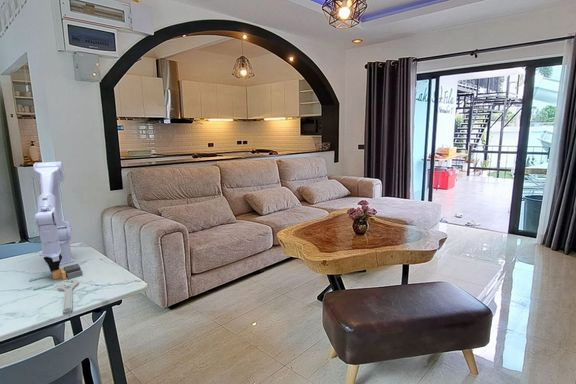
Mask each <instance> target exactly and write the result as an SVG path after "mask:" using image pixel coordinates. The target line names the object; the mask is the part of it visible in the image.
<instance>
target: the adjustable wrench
mask: <svg viewBox="0 0 576 384" xmlns="http://www.w3.org/2000/svg"><path fill="white" fill-rule="evenodd" d="M70 282H71V283H69V284H65V283H64V282H61V283H60V284H59V285H58V287H57V291H58V292H63V293H64V296H63V303H62V304H63V305H62V314H63V315H69V314H72V313H73V310H74V307H73V306H74V305H73V304H74V303H73V302H74V301H73V300H74V299H73V291H74V290H75V289H76V288H77V287H78V286H79V285H80V281H79V280H78V279H70Z"/></svg>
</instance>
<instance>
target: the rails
mask: <svg viewBox="0 0 576 384" xmlns="http://www.w3.org/2000/svg"><path fill="white" fill-rule="evenodd" d="M46 278H49V275H48V274H47V275H46V274H45V275H43V276H38V277H35V278H32V279H31V278H30V279H29V280H28V281H29V283H31V282H35V281H38V280H42V279H46ZM53 286H54V282H53V283H49V284H46V285H42V286H38V287H34V288H33V289H32V290H33V291H35V292H36V291H38V290H42V289H45V288H48V287H53Z"/></svg>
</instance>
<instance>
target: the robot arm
mask: <svg viewBox="0 0 576 384" xmlns="http://www.w3.org/2000/svg"><path fill="white" fill-rule="evenodd" d="M32 169H33V174H34V176H35V178H36V179H37V181H38V182H39V183H40V191H41V194H40V195H38V196H37V212H35V214H34V223H35V225H36V229H37V232H39V239H40V245H41V251H42V252H40V253H38V256H39V257H42V258H43V261H45V262H46V264H47V266H48V268H49V271H50V273H51V274H52V271H54V270H58V269H60V265H61V266H62V265H64V264H69V263H73V262H75V261H76V260H75V259H74V258H73V257H72V250H71V245H70V244H71V243H70V241H71V240H73V230H72V224H71V223H70V221H67V220H65V219H63V208H62V198H61V191H60V185H61V182H64V181H65V172H64V171H65V170H64V165H63V162H62V161H47V162H46V161H45V162H44V161H43V162H34V163H33V167H32Z"/></svg>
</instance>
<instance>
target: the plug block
mask: <svg viewBox="0 0 576 384" xmlns="http://www.w3.org/2000/svg"><path fill="white" fill-rule="evenodd" d="M63 268H64V271H65V273H66V279H67V274H68V273H72V272H75V271H79V270H82V268H81V266H80V264H79V263H75V264H70V265H66V266H63Z"/></svg>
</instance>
